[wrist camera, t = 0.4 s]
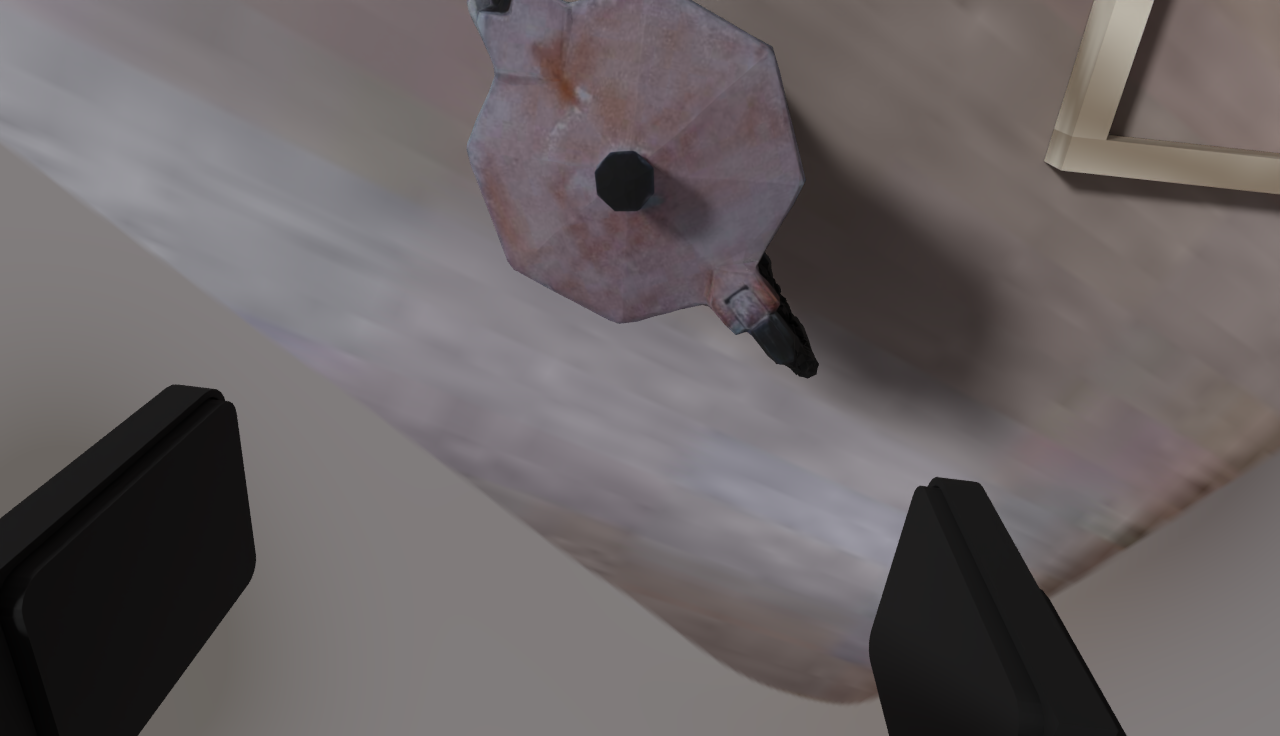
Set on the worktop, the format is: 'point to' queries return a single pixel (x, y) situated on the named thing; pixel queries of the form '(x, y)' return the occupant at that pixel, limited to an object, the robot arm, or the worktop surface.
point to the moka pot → (640, 161)
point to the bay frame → (1095, 152)
